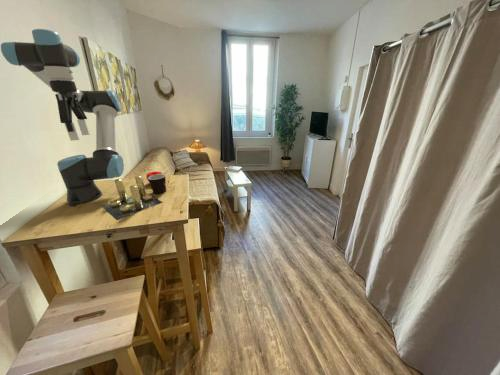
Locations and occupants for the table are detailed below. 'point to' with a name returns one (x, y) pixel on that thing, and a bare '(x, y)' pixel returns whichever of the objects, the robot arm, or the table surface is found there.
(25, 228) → the table surface
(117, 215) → the levelling plate
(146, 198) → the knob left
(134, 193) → the knob front
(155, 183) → the coffee mug
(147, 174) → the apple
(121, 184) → the knob back
